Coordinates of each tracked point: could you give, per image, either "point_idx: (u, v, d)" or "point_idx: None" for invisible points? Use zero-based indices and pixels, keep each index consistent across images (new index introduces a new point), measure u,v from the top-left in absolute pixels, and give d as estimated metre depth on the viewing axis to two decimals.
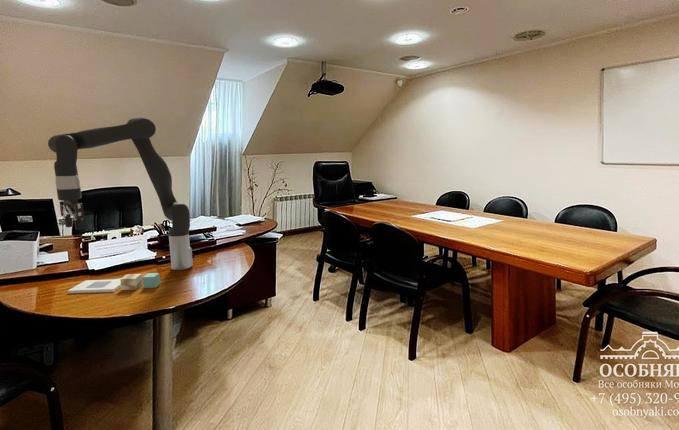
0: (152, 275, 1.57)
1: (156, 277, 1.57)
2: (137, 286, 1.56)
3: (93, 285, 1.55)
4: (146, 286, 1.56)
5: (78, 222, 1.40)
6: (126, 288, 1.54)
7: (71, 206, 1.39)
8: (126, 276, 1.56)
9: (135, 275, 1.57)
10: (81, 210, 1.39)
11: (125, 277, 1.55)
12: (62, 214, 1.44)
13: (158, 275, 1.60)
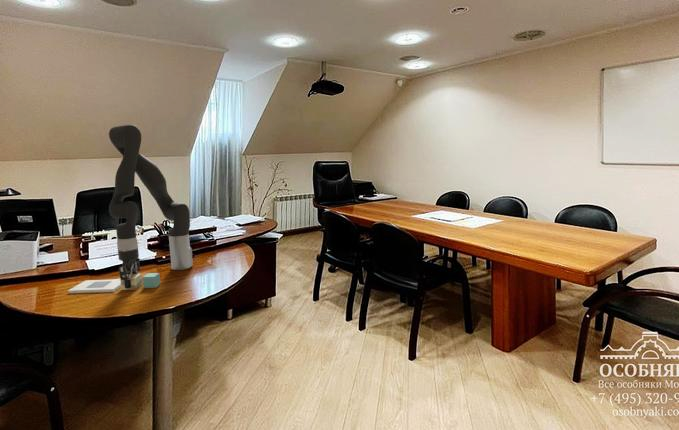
0: (152, 275, 1.57)
1: (156, 277, 1.57)
2: (137, 286, 1.56)
3: (93, 285, 1.55)
4: (146, 286, 1.56)
5: None
6: (126, 288, 1.54)
7: (135, 262, 1.58)
8: None
9: (135, 275, 1.57)
10: None
11: None
12: (127, 277, 1.51)
13: (158, 275, 1.60)
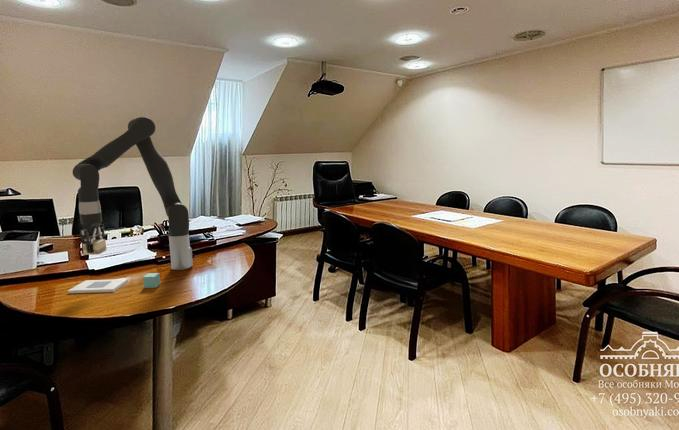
0: (152, 275, 1.57)
1: (156, 277, 1.57)
2: (100, 251, 1.53)
3: (93, 285, 1.55)
4: (146, 286, 1.56)
5: None
6: (88, 253, 1.51)
7: None
8: None
9: (98, 240, 1.54)
10: None
11: None
12: (89, 241, 1.48)
13: (158, 275, 1.60)
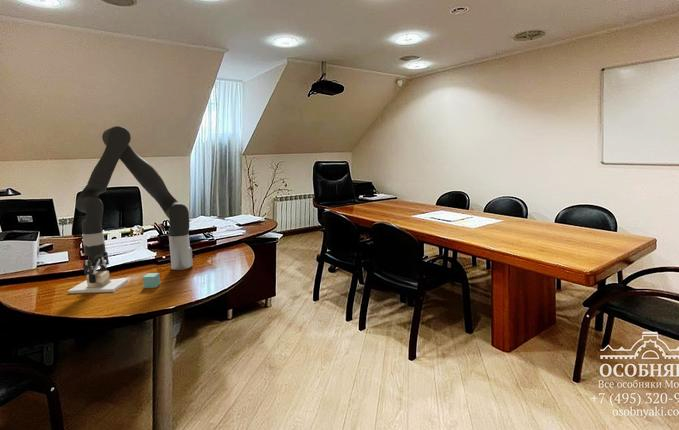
0: (152, 275, 1.57)
1: (156, 277, 1.57)
2: (104, 283, 1.55)
3: None
4: (146, 286, 1.56)
5: None
6: (92, 285, 1.53)
7: (102, 256, 1.58)
8: None
9: (102, 272, 1.57)
10: None
11: None
12: (91, 272, 1.50)
13: (158, 275, 1.60)
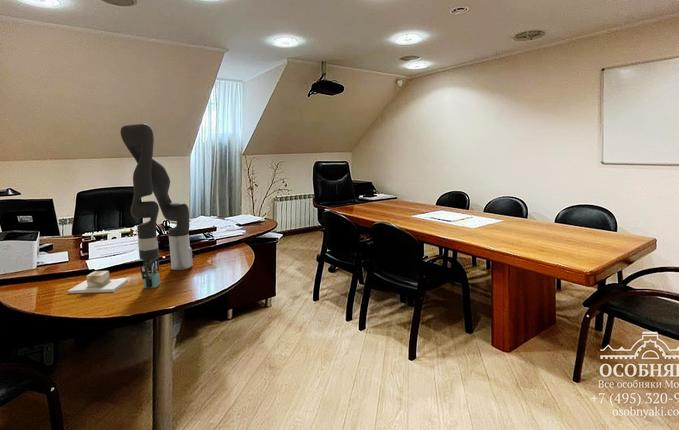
0: (152, 275, 1.57)
1: (156, 277, 1.57)
2: (104, 283, 1.55)
3: None
4: None
5: None
6: (92, 285, 1.53)
7: (155, 262, 1.60)
8: (93, 273, 1.56)
9: (102, 272, 1.57)
10: None
11: (91, 274, 1.54)
12: (149, 276, 1.53)
13: (158, 275, 1.59)
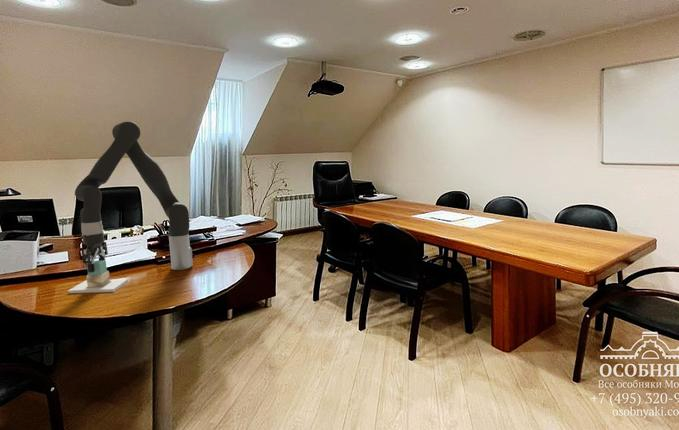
0: (97, 262, 1.54)
1: (101, 264, 1.54)
2: (104, 283, 1.55)
3: None
4: (91, 273, 1.53)
5: None
6: (92, 285, 1.53)
7: (101, 246, 1.57)
8: None
9: None
10: None
11: None
12: (90, 261, 1.49)
13: (104, 262, 1.57)
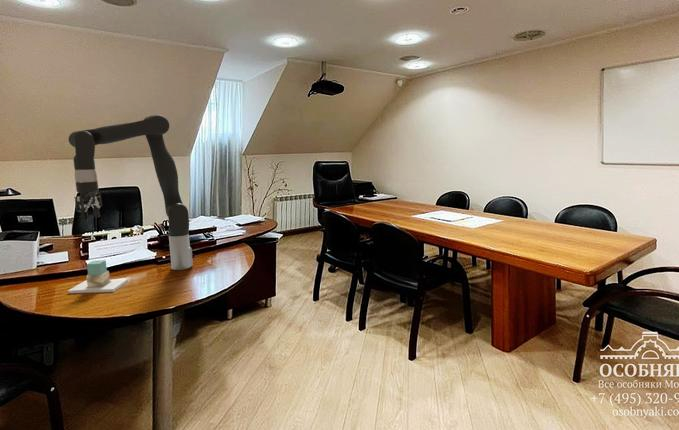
0: (97, 262, 1.54)
1: (101, 264, 1.54)
2: (104, 283, 1.55)
3: None
4: (91, 273, 1.53)
5: None
6: (92, 285, 1.53)
7: (95, 196, 1.53)
8: None
9: None
10: None
11: None
12: (84, 209, 1.45)
13: (104, 262, 1.57)
